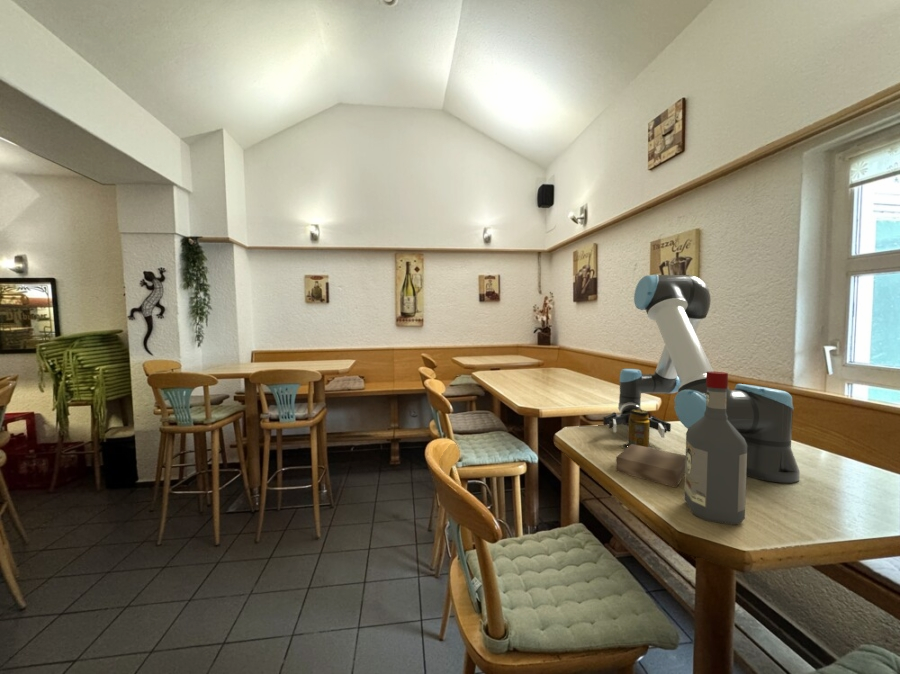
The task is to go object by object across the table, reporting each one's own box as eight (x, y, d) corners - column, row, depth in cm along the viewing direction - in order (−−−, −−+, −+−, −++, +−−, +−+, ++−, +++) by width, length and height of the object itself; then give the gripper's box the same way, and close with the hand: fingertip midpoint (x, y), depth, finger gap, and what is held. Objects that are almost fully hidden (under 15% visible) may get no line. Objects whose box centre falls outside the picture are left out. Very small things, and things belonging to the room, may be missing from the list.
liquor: (730, 505, 77) (734, 370, 76) (749, 528, 69) (754, 376, 68) (681, 498, 81) (685, 369, 79) (694, 519, 72) (698, 374, 71)
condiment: (653, 447, 114) (654, 411, 114) (644, 454, 108) (645, 415, 108) (629, 442, 119) (630, 407, 119) (620, 448, 114) (620, 411, 113)
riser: (686, 470, 96) (686, 455, 96) (676, 487, 86) (676, 471, 86) (631, 456, 106) (631, 443, 106) (616, 471, 95) (616, 456, 95)
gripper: (670, 428, 126) (684, 447, 106) (595, 420, 135) (595, 437, 115) (671, 407, 125) (685, 423, 106) (596, 401, 135) (596, 414, 115)
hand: (638, 430), depth 110 cm, fingers open, 13 cm apart
